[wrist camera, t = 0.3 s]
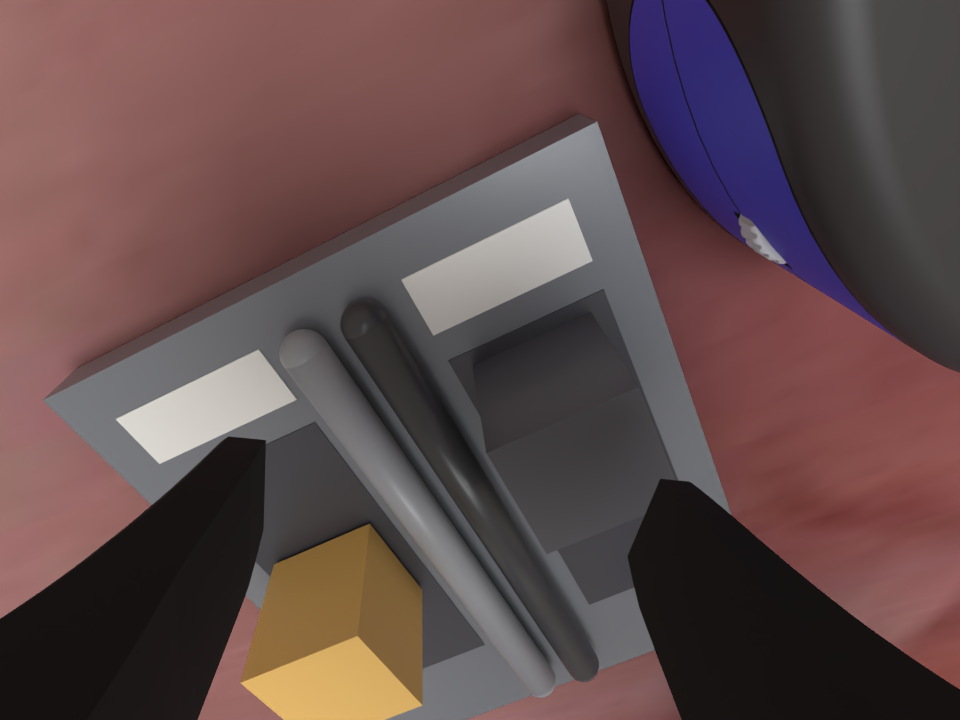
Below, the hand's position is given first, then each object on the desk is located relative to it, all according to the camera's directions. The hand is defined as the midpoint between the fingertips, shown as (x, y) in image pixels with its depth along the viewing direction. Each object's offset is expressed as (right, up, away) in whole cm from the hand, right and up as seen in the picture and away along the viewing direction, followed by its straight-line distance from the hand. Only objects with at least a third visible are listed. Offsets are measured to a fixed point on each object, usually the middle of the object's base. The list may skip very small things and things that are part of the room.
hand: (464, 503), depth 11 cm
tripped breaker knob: (-5, -6, +11) cm, 13 cm away
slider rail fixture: (0, -2, +13) cm, 13 cm away
